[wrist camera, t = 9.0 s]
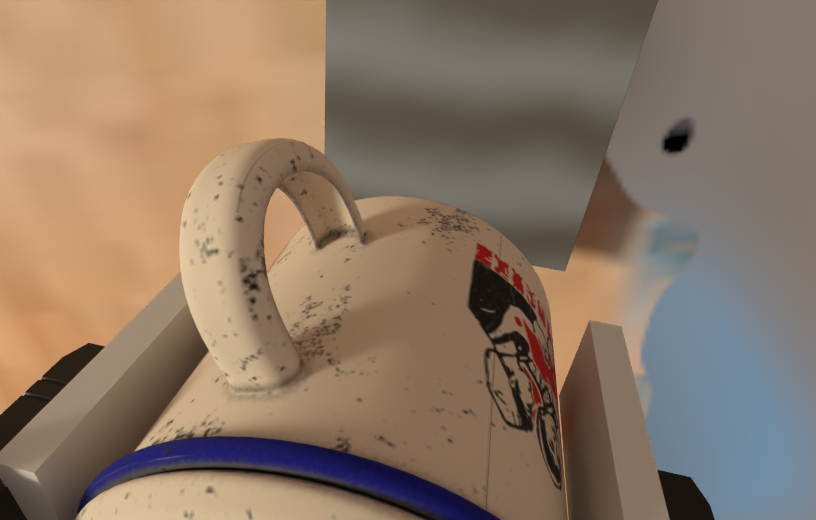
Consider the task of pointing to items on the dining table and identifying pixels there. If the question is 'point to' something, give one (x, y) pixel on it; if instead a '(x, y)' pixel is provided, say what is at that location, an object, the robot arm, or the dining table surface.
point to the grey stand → (482, 106)
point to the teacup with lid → (348, 363)
